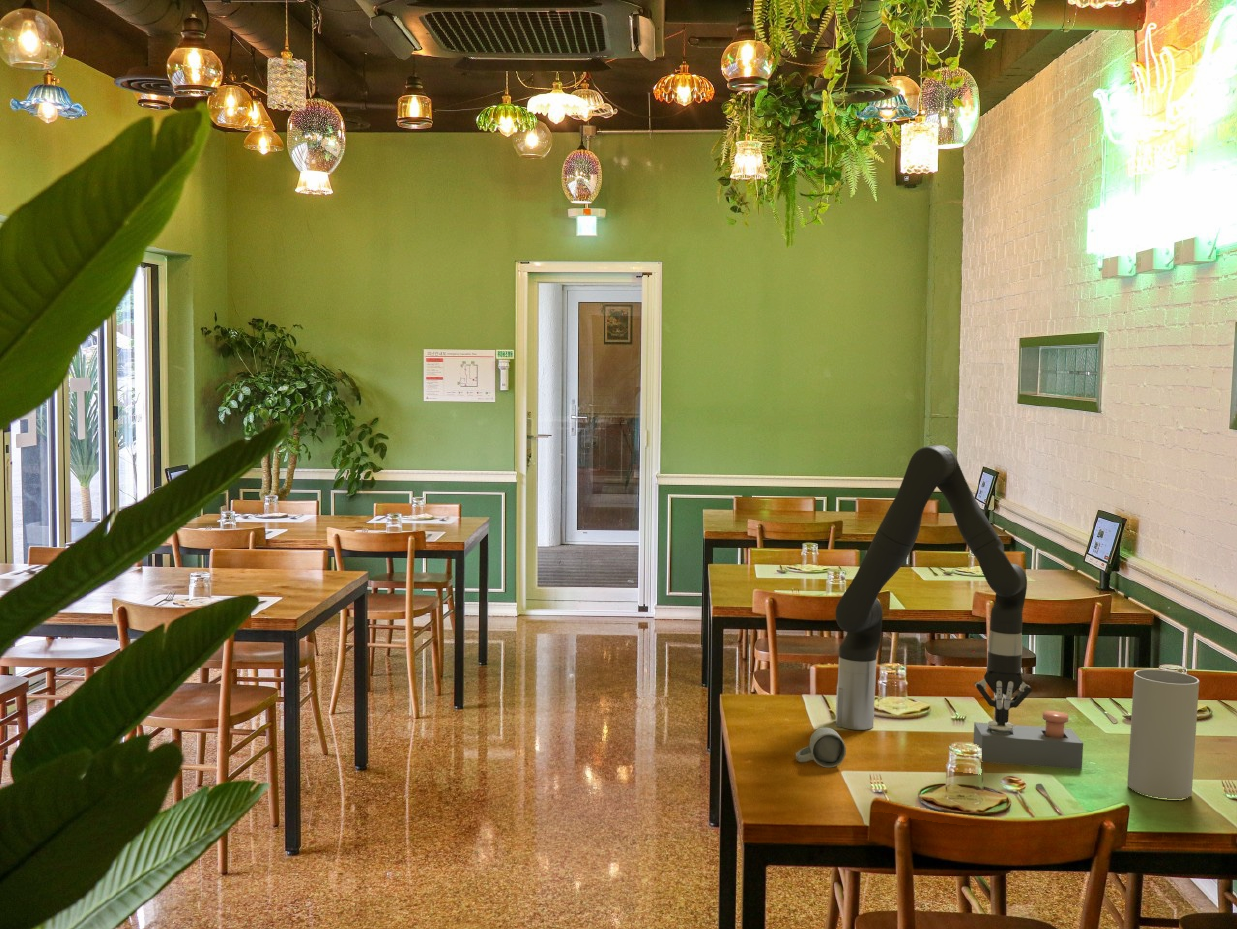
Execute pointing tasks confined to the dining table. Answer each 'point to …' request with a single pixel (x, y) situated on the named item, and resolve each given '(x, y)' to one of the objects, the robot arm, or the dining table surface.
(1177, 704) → the cylinder vase
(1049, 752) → the plunger housing
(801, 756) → the ceramic mug
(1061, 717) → the terracotta plunger
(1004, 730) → the steel plunger
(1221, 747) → the dining table surface
